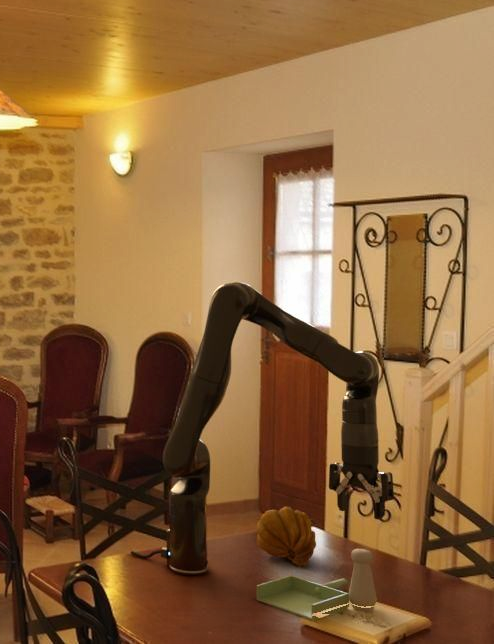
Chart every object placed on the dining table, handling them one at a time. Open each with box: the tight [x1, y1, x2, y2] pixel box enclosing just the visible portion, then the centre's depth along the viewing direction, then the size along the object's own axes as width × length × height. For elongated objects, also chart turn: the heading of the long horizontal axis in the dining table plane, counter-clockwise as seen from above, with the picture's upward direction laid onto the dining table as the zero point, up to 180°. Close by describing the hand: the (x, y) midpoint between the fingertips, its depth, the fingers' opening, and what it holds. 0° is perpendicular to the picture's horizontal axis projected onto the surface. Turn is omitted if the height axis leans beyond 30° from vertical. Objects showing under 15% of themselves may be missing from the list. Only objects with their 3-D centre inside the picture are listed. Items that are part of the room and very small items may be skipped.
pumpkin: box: [256, 505, 317, 568], centre depth 235 cm, size 14×16×20 cm
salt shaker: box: [348, 548, 378, 613], centre depth 199 cm, size 6×6×13 cm
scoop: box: [256, 574, 350, 622], centre depth 204 cm, size 22×15×3 cm, turn 122°
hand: (360, 514), depth 199 cm, fingers open, 8 cm apart
